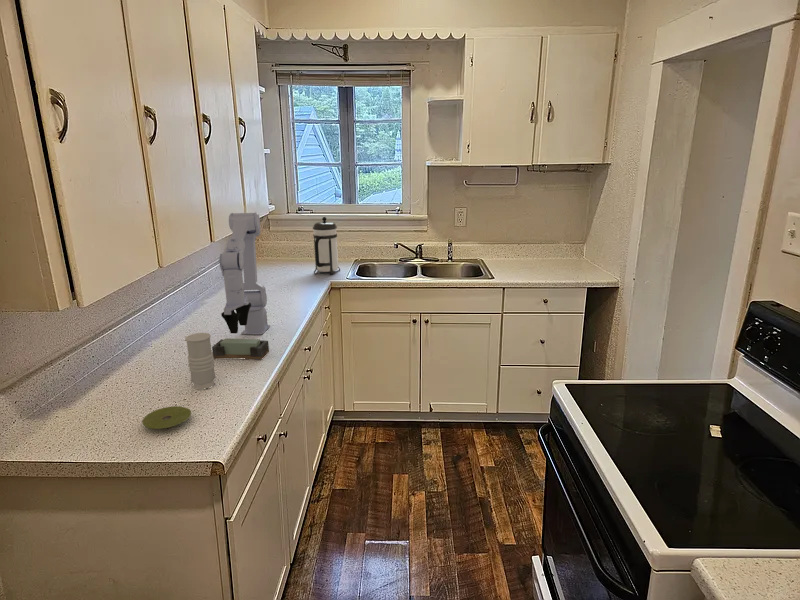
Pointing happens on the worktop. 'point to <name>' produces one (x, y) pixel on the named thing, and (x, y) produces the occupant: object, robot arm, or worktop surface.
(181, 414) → the olive green disc
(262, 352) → the end cap cradle
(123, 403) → the worktop surface
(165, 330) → the worktop surface
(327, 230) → the coffee press
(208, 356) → the ribbed grey can
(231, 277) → the robot arm
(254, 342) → the stone
